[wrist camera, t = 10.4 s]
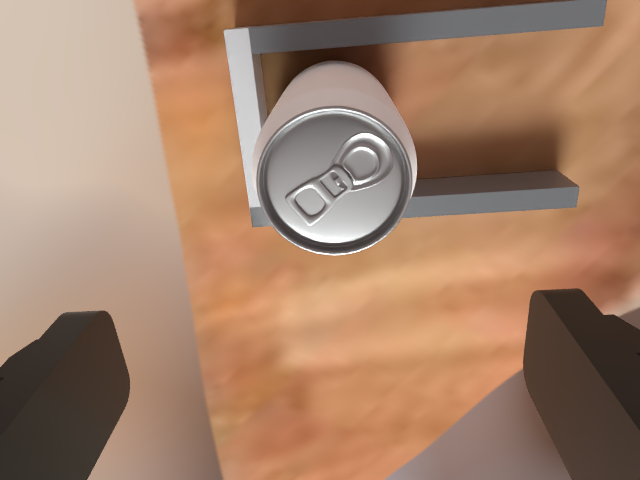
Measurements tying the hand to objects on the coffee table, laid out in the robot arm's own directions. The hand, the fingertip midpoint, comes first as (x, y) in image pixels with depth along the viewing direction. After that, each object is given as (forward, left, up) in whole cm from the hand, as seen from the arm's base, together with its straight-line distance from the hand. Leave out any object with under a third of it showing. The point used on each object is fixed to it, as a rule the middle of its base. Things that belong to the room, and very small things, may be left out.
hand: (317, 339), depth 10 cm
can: (0, 0, -21) cm, 21 cm away
